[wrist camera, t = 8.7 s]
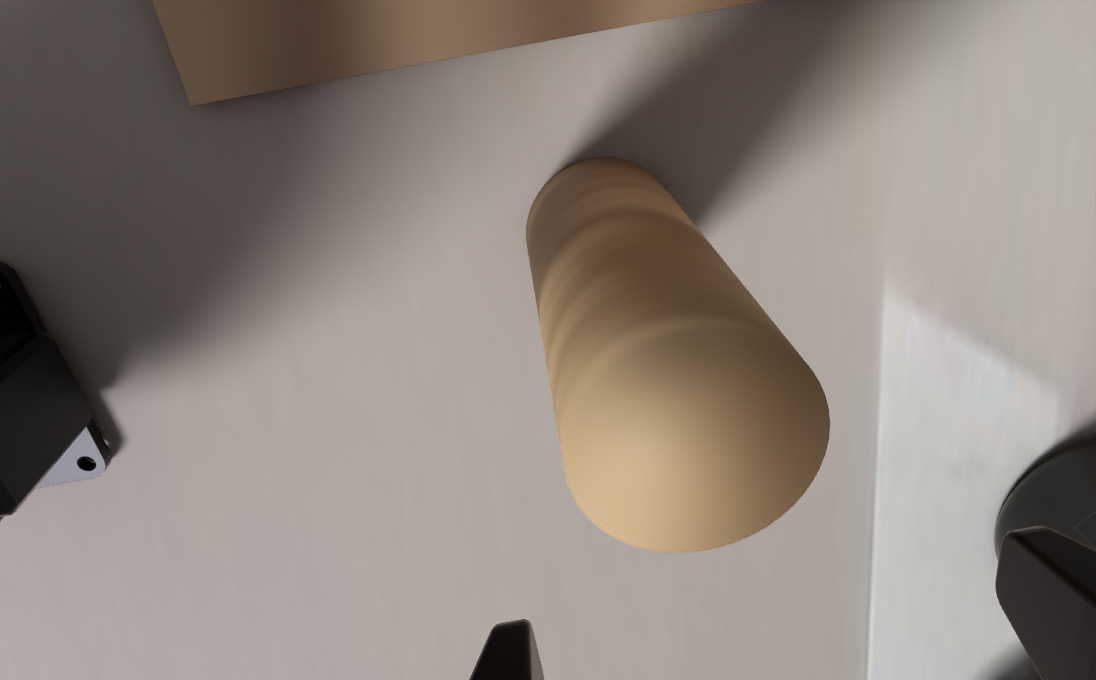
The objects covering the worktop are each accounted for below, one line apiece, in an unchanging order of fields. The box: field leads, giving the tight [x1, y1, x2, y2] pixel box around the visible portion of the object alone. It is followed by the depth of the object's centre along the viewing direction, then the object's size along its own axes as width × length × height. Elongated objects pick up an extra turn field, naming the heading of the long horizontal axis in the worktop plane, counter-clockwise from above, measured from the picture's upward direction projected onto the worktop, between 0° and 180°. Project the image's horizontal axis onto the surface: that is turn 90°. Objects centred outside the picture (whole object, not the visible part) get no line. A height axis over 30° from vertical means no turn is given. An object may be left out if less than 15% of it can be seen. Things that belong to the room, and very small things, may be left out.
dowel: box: [526, 157, 830, 553], centre depth 16 cm, size 4×4×10 cm
